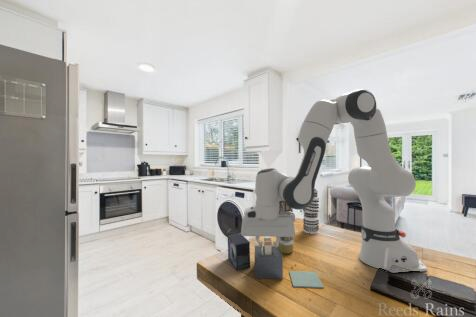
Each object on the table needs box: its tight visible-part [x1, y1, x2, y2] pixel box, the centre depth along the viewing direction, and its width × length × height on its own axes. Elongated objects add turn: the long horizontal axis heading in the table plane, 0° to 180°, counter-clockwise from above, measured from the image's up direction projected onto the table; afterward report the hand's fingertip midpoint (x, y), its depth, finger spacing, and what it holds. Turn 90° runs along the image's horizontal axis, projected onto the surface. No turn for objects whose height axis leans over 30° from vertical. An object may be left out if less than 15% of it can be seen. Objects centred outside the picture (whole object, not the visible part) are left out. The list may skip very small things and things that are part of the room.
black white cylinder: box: [302, 188, 320, 235], centre depth 121 cm, size 9×9×25 cm
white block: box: [263, 236, 273, 255], centre depth 79 cm, size 3×5×10 cm, turn 175°
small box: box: [227, 232, 251, 272], centre depth 87 cm, size 11×6×10 cm, turn 22°
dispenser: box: [254, 245, 284, 280], centre depth 79 cm, size 10×9×8 cm
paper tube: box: [277, 201, 294, 255], centre depth 96 cm, size 7×7×25 cm
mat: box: [288, 270, 324, 289], centre depth 74 cm, size 10×9×1 cm
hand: (267, 247), depth 79 cm, fingers open, 4 cm apart
